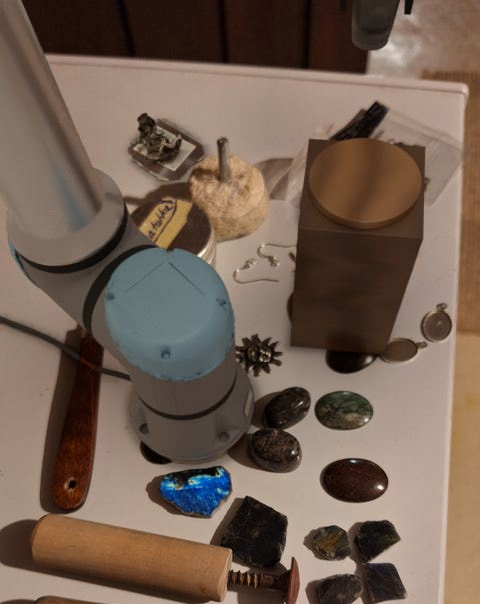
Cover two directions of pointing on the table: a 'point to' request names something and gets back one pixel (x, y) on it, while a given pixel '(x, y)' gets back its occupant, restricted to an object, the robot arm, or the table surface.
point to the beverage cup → (373, 22)
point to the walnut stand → (351, 272)
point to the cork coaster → (364, 183)
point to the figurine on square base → (164, 148)
